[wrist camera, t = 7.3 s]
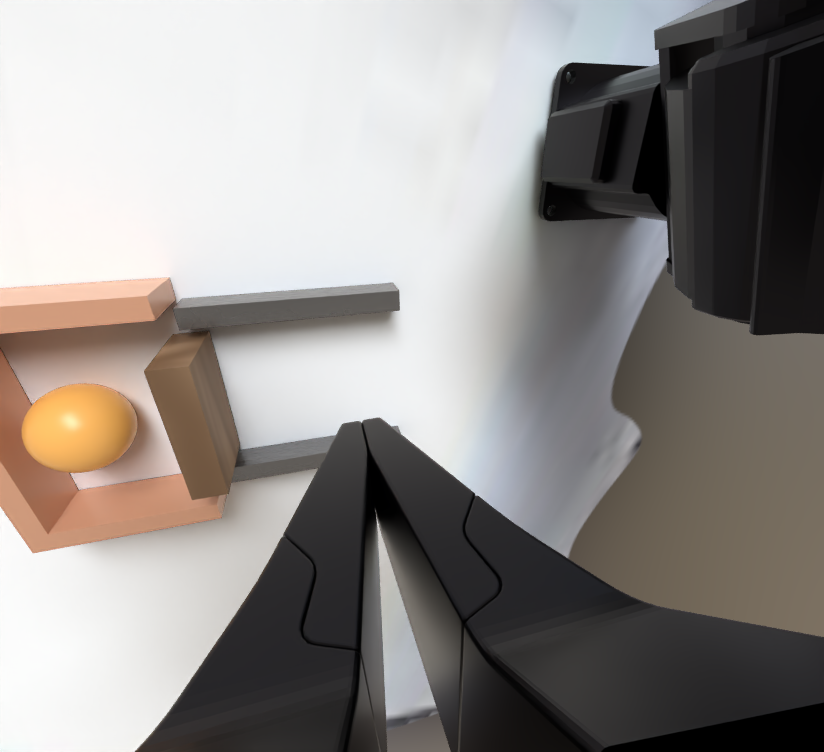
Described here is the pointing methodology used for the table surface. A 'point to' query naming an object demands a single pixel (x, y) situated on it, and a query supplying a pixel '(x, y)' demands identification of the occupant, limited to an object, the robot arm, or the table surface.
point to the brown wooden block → (195, 412)
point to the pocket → (56, 491)
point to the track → (272, 310)
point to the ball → (79, 428)
